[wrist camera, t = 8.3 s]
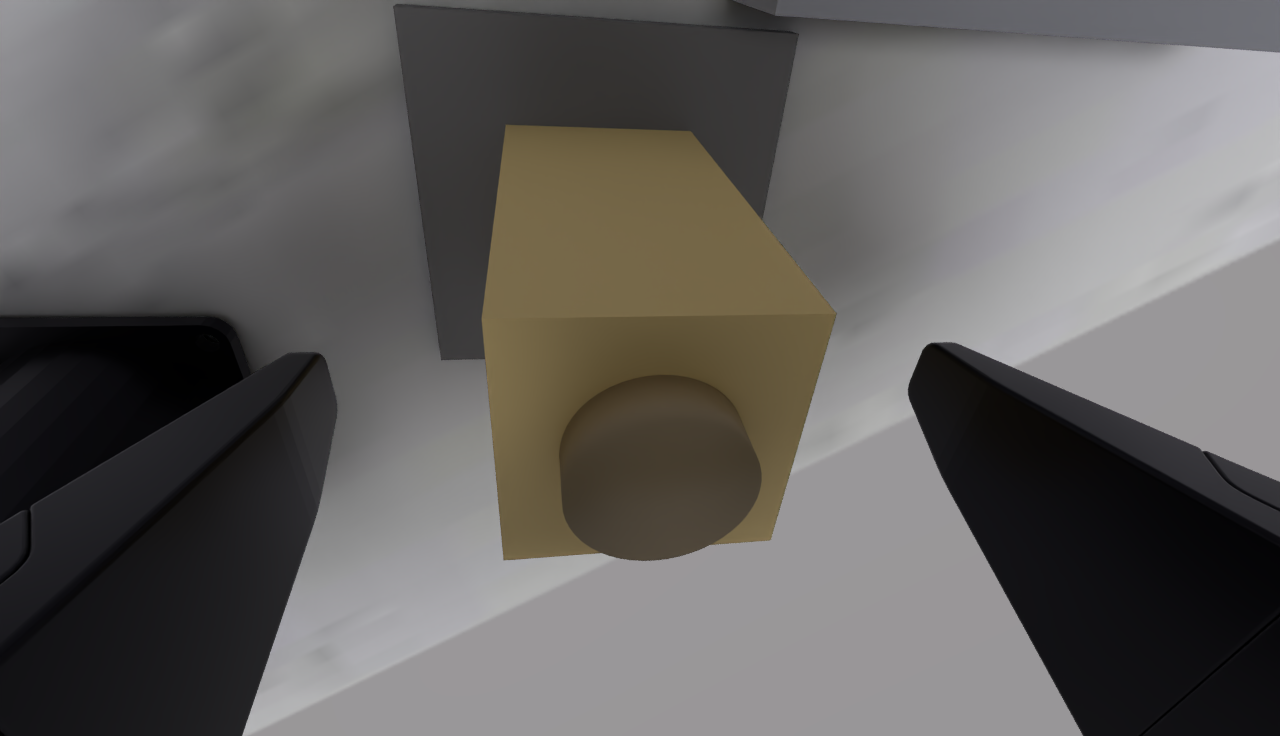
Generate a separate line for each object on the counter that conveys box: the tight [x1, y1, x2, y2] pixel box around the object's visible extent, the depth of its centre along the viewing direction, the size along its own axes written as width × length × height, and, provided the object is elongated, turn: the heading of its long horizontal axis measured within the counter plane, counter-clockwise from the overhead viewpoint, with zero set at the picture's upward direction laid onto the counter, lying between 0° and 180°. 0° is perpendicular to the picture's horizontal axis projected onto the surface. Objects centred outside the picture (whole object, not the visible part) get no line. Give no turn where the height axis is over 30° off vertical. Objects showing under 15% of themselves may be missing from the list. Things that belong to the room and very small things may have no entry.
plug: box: [482, 125, 836, 561], centre depth 11 cm, size 4×4×9 cm
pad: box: [393, 4, 799, 360], centre depth 15 cm, size 8×8×1 cm
